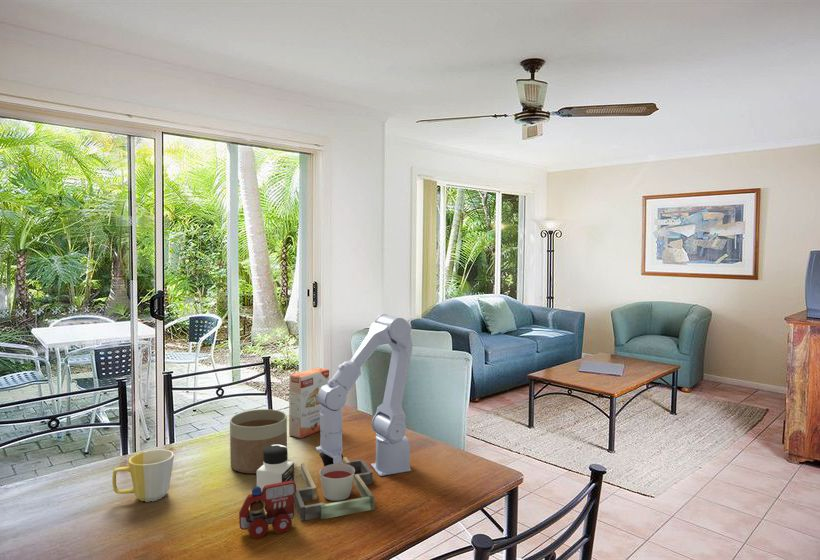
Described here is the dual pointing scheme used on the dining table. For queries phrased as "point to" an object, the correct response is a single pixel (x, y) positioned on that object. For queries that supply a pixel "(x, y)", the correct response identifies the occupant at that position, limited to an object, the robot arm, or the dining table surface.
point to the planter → (255, 437)
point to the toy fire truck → (268, 509)
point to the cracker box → (305, 401)
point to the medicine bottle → (275, 466)
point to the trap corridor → (338, 507)
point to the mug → (148, 474)
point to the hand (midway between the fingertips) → (331, 479)
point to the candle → (337, 481)
